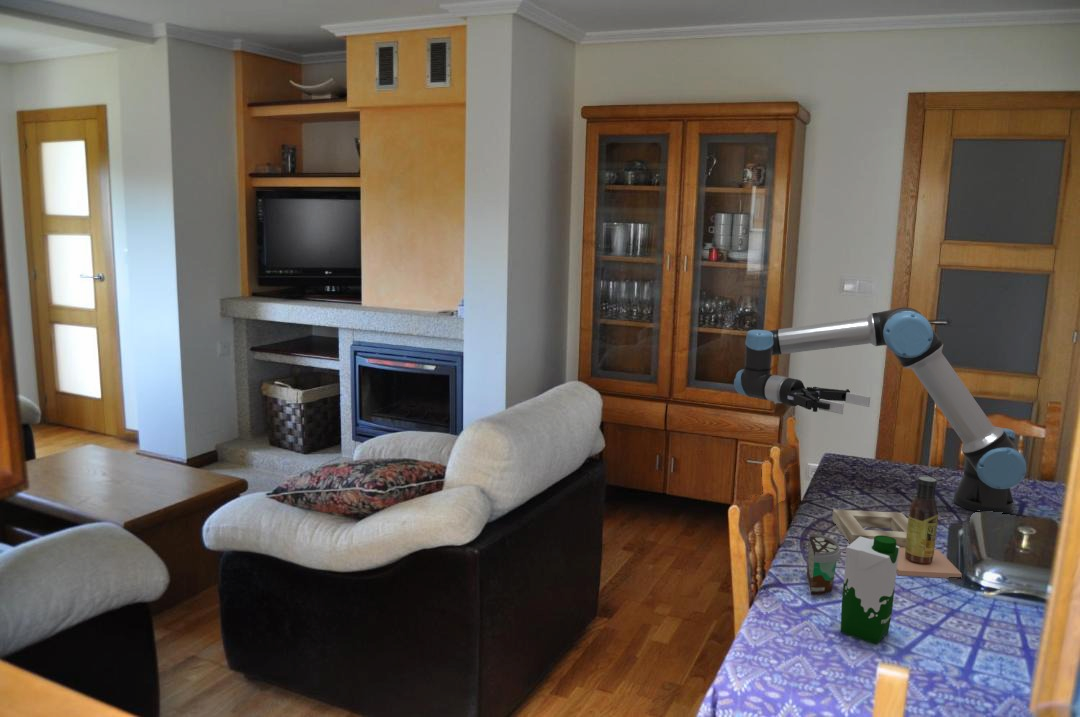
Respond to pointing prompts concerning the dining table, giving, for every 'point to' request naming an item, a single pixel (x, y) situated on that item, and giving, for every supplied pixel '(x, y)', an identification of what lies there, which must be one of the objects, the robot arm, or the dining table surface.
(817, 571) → the food container
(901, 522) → the bottle stand
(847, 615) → the milk carton
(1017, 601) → the dining table surface
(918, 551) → the sauce bottle
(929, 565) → the terracotta tile
